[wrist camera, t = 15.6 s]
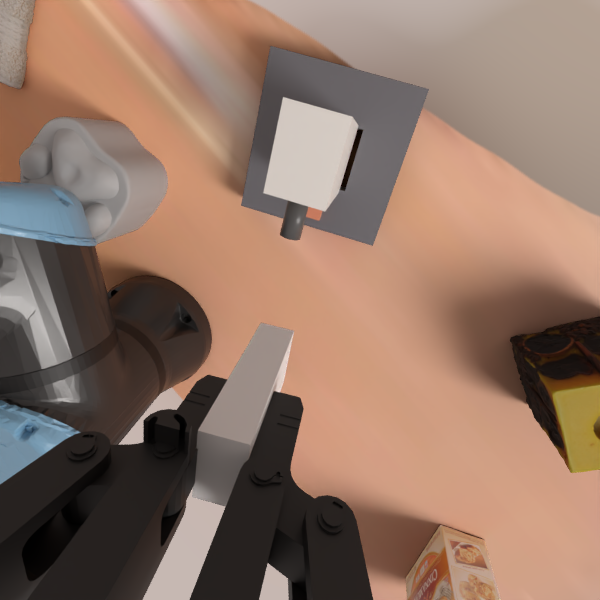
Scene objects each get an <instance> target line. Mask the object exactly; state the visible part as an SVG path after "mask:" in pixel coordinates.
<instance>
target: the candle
mask: <svg viewBox="0 0 600 600" xmlns="http://www.w3.org/2000/svg"><path fill="white" fill-rule="evenodd" d="M510 342H511V343H512V344H513V345H512V346H513V352H514V358H515V361H516V363H517V369H518V372H519V374H520V380H521V381H522V385H523V386H524V390H525V392H526V395H527V399H526V402H527V403H528V405H529V408H530V409H531V410H532V412H533V415H534V418H535V419H536V421H537V422H538V423H539V424H540V426H541V428H542V429H543V430H544V431H545V432H546V434H547V435H548V437H549V438H550V440H551V441H552V443H553V444H554V446H555V447H556V448H557V450H558V452H559V454H560V455H561V457H562V458H563V459H564V461H565V463H566V465H567V467H568V469H569V470H570V472H571V473H576V472H586V471H592V470H600V317H597V318H593V319H589V320H581V321H577V322H573V323H569V324H566V325H559V326H555V327H553V328H548V329H546V330H545V331H544V332H542V333H537V334H530V335H520V336H515V337H511V339H510Z"/></svg>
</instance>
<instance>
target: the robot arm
mask: <svg viewBox="0 0 600 600" xmlns="http://www.w3.org/2000/svg"><path fill="white" fill-rule="evenodd" d="M95 245H97V241H96V239H95V238H94V237H92V234H91V231H90V228H89V225H88V222H87V219H86V216H85V212H84V209H83V206H82V204H81V202H80V201H79V199H78V198H77V197H76V196H75V195H74V194H73V193H72V192H70V191H69V190H67V189H65V188H62V187H60V186H55V185H47V184H35V183H20V182H0V600H142V599H143V597H144V595H145V593H146V591H147V589H148V587H149V585H150V583H151V581H152V579H153V577H154V575H155V573H156V571H157V568H158V567H159V564H160V562H161V560H162V558H163V556H164V554H165V552H166V550H167V548H168V546H169V544H170V542H171V540H172V538H173V536H174V534H175V532H176V530H177V527H178V526H179V524H180V521H181V519H182V517H183V515H184V512H185V508H186V500H187V498H188V496H189V494H190V492H191V490H192V488H193V495H192V496H193V497H194V498H198V499H201V500H205V501H208V502H212V503H215V504H219V505H222V506H226V507H225V510H224V513H223V515H222V518H221V520H220V523H219V526H218V528H217V531H216V533H215V536H214V538H213V541H212V543H211V546H210V549H209V551H208V554H207V556H206V559H205V562H204V564H203V567H202V569H201V572H200V574H199V577H198V580H197V582H196V585H195V587H194V590H193V592H192V595H191V598H190V600H259V597H260V592H261V588H262V584H263V580H264V575H265V571H266V567H267V563H269V564H270V565H271V566H273V567H274V568H275V569H276V570H278V571H279V572H281V573H282V574H283V575H284V576H286V577H287V578H288V590H289V600H373V597H372V592H371V587H370V583H369V578H368V573H367V569H366V564H365V559H364V555H363V550H362V545H361V540H360V536H359V531H358V526H357V522H356V519H355V516H354V514H353V511H352V510H351V509H350V508H349V506H348V505H347V504H346V503H345V502H343V501H342V500H340V499H338V498H337V497H333V496H328V495H326V496H319V497H317V498H315V499H314V498H313V497H311V496H310V495H308V494H306V493H305V492H304V491H302V490H301V489H300V488H299V487H298V486H297V485H296V483H295V482H294V480H293V478H292V476H291V471H290V466H291V460H292V456H293V452H294V447H295V443H296V439H297V435H298V430H299V426H300V422H301V417H302V413H303V409H304V408H303V405H302V402H301V399H300V398H299V397H296V396H292V395H288V394H284V393H280V391H281V388H282V385H283V382H284V378H285V373H286V368H287V363H288V359H289V354H290V349H291V344H292V339H293V334H294V331H293V330H289V329H284V328H280V327H276V326H272V325H268V324H264V323H261V324H260V325H259V327H258V329H257V330H256V332H255V334H254V336H253V337H252V339H251V341H250V342H249V344H248V346H247V347H246V349H245V351H244V353H243V354H242V356H241V358H240V359H239V361H238V363H237V365H236V366H235V368H234V370H233V371H232V373H231V375H230V376H229V378H228V380H227V379H223V378H219V377H215V376H211V375H207V376H205V377H204V378H202V379H200V380H199V381H197V382H196V384H195V385H194V386H193V388H192V389H191V391H190V393H188V395H187V396H186V398H185V400H184V401H183V402H182V403H181V405H180V406H179V408H178V409H177V410H171V409H167V410H160V411H157V412H155V413H153V414H150V415H149V416H148V417H147V418H146V419H145V420H144V442H143V443H139V444H132V445H118V444H119V443H120V442H121V440H122V439H123V438H124V437H125V436H126V434H127V433H128V432H129V431H130V430H131V428H132V427H133V426H134V425H135V423H136V422H137V421H138V420H139V419H140V417H141V416H142V415H143V414H144V413H145V411H146V410H147V409H148V408H149V406H150V405H151V404H152V403H153V401H154V400H155V399H156V398H157V397H158V396H159V394H160V393H162V392H164V391H166V390H167V389H169V388H171V387H173V386H175V385H176V384H178V383H180V382H182V381H185V380H187V379H188V378H190V377H191V376H192V375H193V374H195V373H196V372H197V370H198V369H199V368H200V367H201V365H202V364H203V363H204V362H205V360H206V359H207V357H208V355H209V352H210V349H211V342H212V335H211V329H210V325H209V322H208V319H207V317H206V315H205V313H204V311H203V309H202V308H201V306H200V305H199V304H198V302H197V301H196V300H195V299H194V298H193V297H192V296H191V295H190V294H189V293H188V292H187V291H185V290H184V289H183V288H181V287H180V286H178V285H176V284H175V283H173V282H171V281H168V280H166V279H163V278H159V277H154V276H138V277H134V278H131V279H128V280H126V281H124V282H122V283H121V284H119V285H117V286H115V287H114V288H112V289H111V290H110V291H109V292H108V293H107V291H106V287H105V283H104V279H103V275H102V271H101V268H100V264H99V260H98V256H97V252H96V248H95Z"/></svg>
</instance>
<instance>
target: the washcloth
mask: <svg viewBox="0 0 600 600" xmlns="http://www.w3.org/2000/svg"><path fill="white" fill-rule="evenodd" d="M34 3H35V0H0V82H1V83H4V84H6V85H8V86H10V87H14V88H17V89H21V87H22V85H23V82H24V79H25V72H26V61H27V52H26V48H27V41H28V35H29V27H30V24H31V23H32V22H33V19H32V18H33V15H34V13H33V10H34V7H35V4H34Z"/></svg>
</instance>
